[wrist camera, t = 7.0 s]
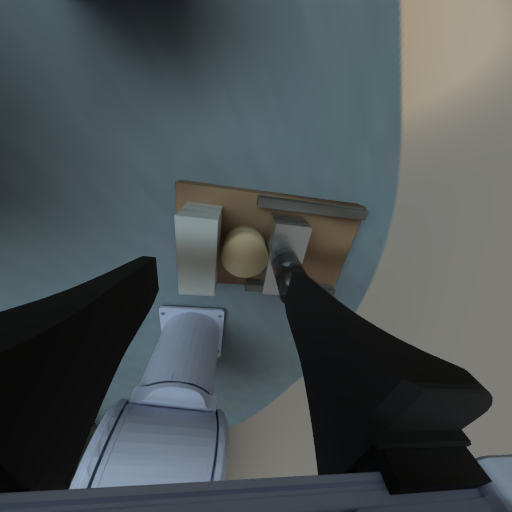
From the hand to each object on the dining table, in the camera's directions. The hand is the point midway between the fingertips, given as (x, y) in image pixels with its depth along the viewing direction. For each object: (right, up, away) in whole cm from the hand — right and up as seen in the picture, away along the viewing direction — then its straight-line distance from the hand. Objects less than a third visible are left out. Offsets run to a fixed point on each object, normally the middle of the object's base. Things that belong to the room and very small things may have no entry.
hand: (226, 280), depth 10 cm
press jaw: (+4, +2, +9) cm, 10 cm away
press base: (+3, +3, +11) cm, 11 cm away
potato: (+1, +3, +9) cm, 9 cm away
